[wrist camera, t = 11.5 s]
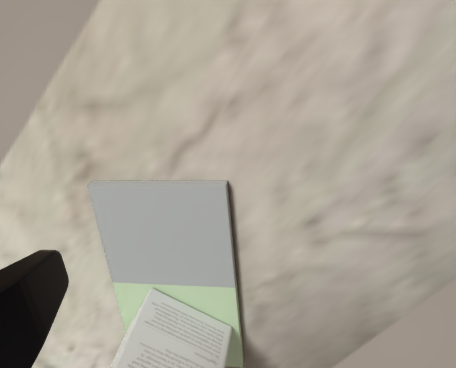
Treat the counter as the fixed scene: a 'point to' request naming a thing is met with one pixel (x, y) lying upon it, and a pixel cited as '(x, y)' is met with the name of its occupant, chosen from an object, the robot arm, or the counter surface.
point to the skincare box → (172, 337)
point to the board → (171, 247)
